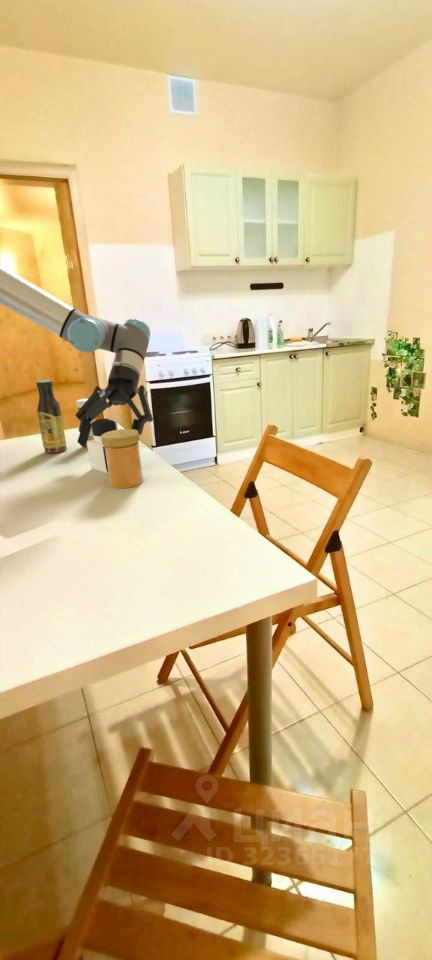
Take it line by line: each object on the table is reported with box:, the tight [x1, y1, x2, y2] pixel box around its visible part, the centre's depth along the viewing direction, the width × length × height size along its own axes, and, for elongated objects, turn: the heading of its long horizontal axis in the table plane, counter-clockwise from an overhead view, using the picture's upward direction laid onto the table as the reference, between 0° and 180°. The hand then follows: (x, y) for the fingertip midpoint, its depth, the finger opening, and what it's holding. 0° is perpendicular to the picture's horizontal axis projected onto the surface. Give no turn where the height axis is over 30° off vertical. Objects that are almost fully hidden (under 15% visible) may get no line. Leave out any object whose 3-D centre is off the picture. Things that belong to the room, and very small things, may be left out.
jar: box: [105, 441, 144, 489], centre depth 98 cm, size 7×7×10 cm
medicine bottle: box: [86, 417, 119, 475], centre depth 109 cm, size 7×7×12 cm
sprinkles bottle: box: [75, 398, 96, 448], centre depth 129 cm, size 5×5×14 cm
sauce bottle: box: [36, 379, 67, 454], centre depth 124 cm, size 7×6×20 cm
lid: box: [102, 428, 140, 447], centre depth 96 cm, size 8×8×2 cm
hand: (106, 445), depth 108 cm, fingers open, 13 cm apart
